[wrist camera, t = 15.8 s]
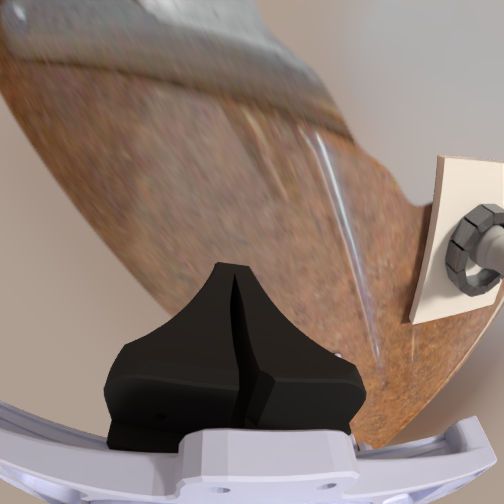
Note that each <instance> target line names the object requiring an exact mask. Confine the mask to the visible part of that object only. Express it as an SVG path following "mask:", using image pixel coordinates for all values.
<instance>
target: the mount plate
mask: <svg viewBox="0 0 504 504" xmlns="http://www.w3.org/2000/svg"><path fill="white" fill-rule="evenodd" d="M481 204H496V205H498V206H499V207H501V208H503V209H504V161H497V160H489V159H480V158H470V157H458V156H445V155H438V158H437V171H436V180H435V189H434V197H433V205H432V212H431V219H430V225H429V231H428V237H427V242H426V247H425V253H424V257H423V262H422V267H421V271H420V276H419V280H418V284H417V288H416V292H415V296H414V300H413V304H412V308H411V311H410V315H409V320H410V321H411V323H412V324H417V323H421V322H426V321H430V320H434V319H439V318H443V317H447V316H451V315H455V314H459V313H462V312H466V311H470V310H474V309H477V308H481V307H484V306H488V305H491V304H493V303H494V301H495V298H496V295H497V293H498V290H499V287H500V285H501V282H502V279H500V282H499V283H498V284H497V285H496V286H495V287H493V288H492V289H491V290H490V291H488V292H486V293H485V294H482V295H478V296H474V297H469V296H468V295H466V294H464V293H463V292H461V291H460V290H459V289H458V288H457V287H456V286H455V285H454V284H453V282H452V281H451V280H450V279H449V278H448V274H447V270H446V266H445V262H446V261H445V257H446V252H447V248H448V243H449V240H453V239H452V238H450V237H451V235H452V234H453V232H454V231H455V229H456V227H457V226H458V224H459V222H460V221H461V219H462V218H463V219H464V216H465V215H466V214H467V213H469V212H470V211H471V210H473V209H474V208H475V207H477V206H478V205H480V206H481ZM464 220H465V219H464ZM498 225H499V224H498ZM482 269H484V268H481V267H479V266H478V265H477V264H476V263H474V262H473V261H472V260H471V259H470V257H468V261H467V264H466V268H465V271H466V276H470V275H475V274H477V273H479V272H480V271H481V270H482Z"/></svg>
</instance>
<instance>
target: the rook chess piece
mask: <svg viewBox="0 0 504 504" xmlns="http://www.w3.org/2000/svg"><path fill="white" fill-rule="evenodd" d="M469 257H470V259H471V260H472V261H473V262H474V263H476V264H477V265H478V266H479V267H481V268H486V269H487V268H488V269H494V270H496V271H497V272H499V273H500V274H502V275H503V276H504V229H503V227H502V226H500V225H498V224H493V225H492V226H491V227H489V228H488V229H487V230H486V231H484V232H483V233H482V234H481V235H480V236H479V238H478V239H477V241H476V243H475V244H474V246H473V247H472V249H471V251H470V253H469Z"/></svg>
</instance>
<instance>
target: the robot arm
mask: <svg viewBox="0 0 504 504" xmlns="http://www.w3.org/2000/svg"><path fill="white" fill-rule="evenodd" d="M104 397H105V401H106V403H107V407H108V410H109V413H110V416H111V419H112V421H111V425H110V429H109V433H108V437H107V438H105V437H102V436H98V435H94V434H91V433H87V432H84V431H80V430H77V429H73V428H70V427H67V426H64V425H61V424H58V423H55V422H52V421H50V420H47V419H44V418H41V417H38V416H36V415H33V414H31V413H28V412H26V411H24V410H21V409H19V408H16V407H14V406H12V405H10V404H7V403H5V402H3V401H1V400H0V478H1V479H3V480H5V481H6V482H8V483H10V484H12V485H14V486H15V487H17V488H19V489H21V490H23V491H25V492H27V493H29V494H31V495H33V496H35V497H37V498H39V499H41V500H44V501H46V502H48V503H50V504H427V503H429V502H431V501H434V500H436V499H439V498H441V497H443V496H446V495H448V494H450V493H452V492H454V491H457V490H458V489H460V488H461V487H463V486H464V485H466V484H468V483H469V482H470V481H471V480H473V479H475V478H476V477H477V476H479V475H480V474H482V473H483V472H484V471H486V470H487V469H488V468H490V467H491V466H492V465H494V464H495V463H496V462H497V458H496V456H495V454H494V451H493V449H492V447H491V445H490V443H489V441H488V439H487V437H486V435H485V433H484V431H483V429H482V427H481V425H480V423H479V421H478V419H477V417H476V416H472V417H469V418H465V419H462V420H459V421H457V422H455V423H454V424H452V425H451V426H450V427H449V428H448V429H447V430H446V431H445V432H444V434H440V435H436V436H433V437H429V438H425V439H421V440H417V441H412V442H408V443H403V444H398V445H393V446H388V447H382V448H377V449H372V447H371V445H369V444H367V443H365V442H364V441H361V442H358V443H357V446H356V442H355V439H354V435H353V434H351V429H350V426H349V422H350V421H351V420H352V418H353V417H354V416H355V415H356V413H357V412H358V411H359V409H360V408H361V407H362V405H363V403H364V402H365V400H366V390H365V387H364V385H363V381H362V379H361V376H360V374H359V372H358V370H357V368H356V365H354V364H352V363H350V362H348V361H346V360H344V359H342V358H341V355H340V354H333V353H331V352H329V351H328V350H326V349H325V348H323V347H321V346H320V345H318V344H317V343H316V342H314V341H313V340H311V339H310V338H309V337H307V336H306V335H305V334H304V333H302V332H301V331H300V330H299V329H298V328H297V327H295V326H294V325H293V324H292V323H291V322H290V321H289V320H288V319H287V318H286V317H285V316H284V315H283V314H282V313H281V312H280V311H279V309H278V308H277V307H276V306H275V305H274V303H273V302H272V301H271V300H270V298H269V297H268V295H267V294H266V293H265V291H264V290H263V288H262V287H261V285H260V284H259V282H258V280H257V279H256V277H255V275H254V274H253V272H252V270H251V269H250V267H249V266H244V265H236V264H229V263H222V262H217V263H216V264H215V266H214V269H213V271H212V273H211V275H210V276H209V278H208V280H207V281H206V283H205V284H204V285H203V287H202V288H201V290H200V291H199V292H198V293H197V294H196V296H195V297H194V298H193V299H192V300H191V301H190V302H189V304H188V305H187V306H186V307H184V308H183V309H182V310H181V311H180V312H179V313H178V314H177V315H175V316H174V317H173V318H172V319H171V320H169V321H168V322H167V323H165V324H164V325H162V326H161V327H159V328H157V329H156V330H154V331H153V332H151V333H149V334H148V335H146V336H144V337H141V338H139V339H137V340H135V341H133V342H130V343H128V344H125V345H124V347H123V348H122V349H121V351H120V353H119V354H118V356H117V358H116V359H115V361H114V363H113V365H112V367H111V369H110V371H109V374H108V377H107V380H106V384H105V387H104ZM357 447H358V449H357Z"/></svg>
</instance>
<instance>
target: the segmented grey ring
mask: <svg viewBox="0 0 504 504" xmlns="http://www.w3.org/2000/svg"><path fill="white" fill-rule="evenodd" d="M464 219H465V220H464ZM464 219H463V218H462V219H461V221H460V222H459V224H458V226H457V227H456V229H455V231H454V232H453V234H452V235H451V237H450V238H452V239H453V240H449V243H448V248H447V252H446V257H445V261H446V262H445V266H446V270H447V274H448V278H449V279H450V280H451V281H452V282H453V284H454V285H455V286H456V287H457V288H458V289H459V290H460V291H461V292H463V293H464V294H466V295H468V296H469V297H474V296H478V295H482V294H485V293H486V292H488V291H490V290H491V289H492V288H493V287H495V286H496V285H497V284H498V283H499V282H500V279H503V278H504V276H503V275H502V274H500V273H499V272H497V271H496V270H494V269H488V268H487V269H486V268H484V269H482V270H481V271H480V272H479V273H477V274H475V275H470V276H466V271H465V268H466V264H467V261H468V257H469V253H470V251H471V249H472V247H473V246H474V244H475V243H476V241H477V239H478V238H479V236H480V235H481V234H482V233H483V232H484V231H486V230H487V229H488V228H489V227H491V226H492V225H493V224H499V225H500V226H502V227H503V229H504V209H503V208H501V207H499V206H498V205H496V204H481V206H480V205H478V206H477V207H475V208H474V209H473V210H471V211H470V212H469V213H467V214H466V215H465V216H464Z"/></svg>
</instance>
